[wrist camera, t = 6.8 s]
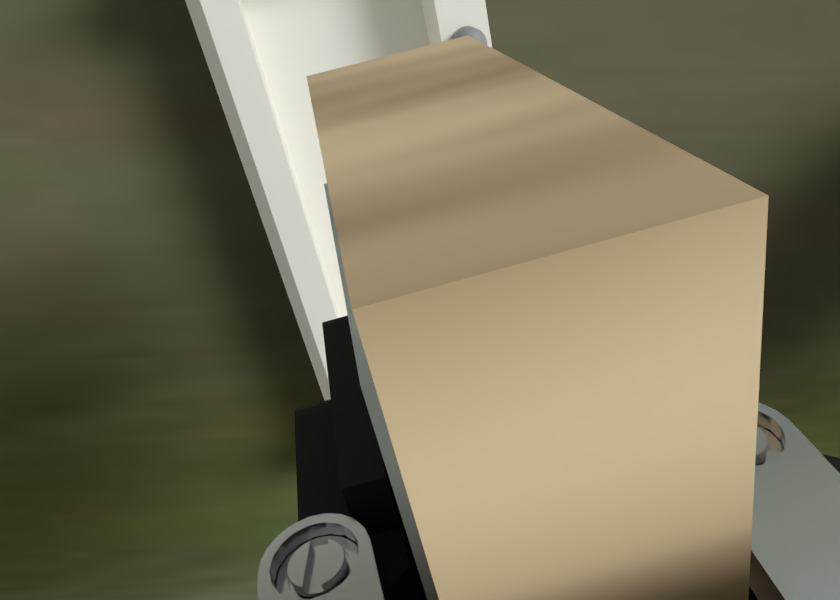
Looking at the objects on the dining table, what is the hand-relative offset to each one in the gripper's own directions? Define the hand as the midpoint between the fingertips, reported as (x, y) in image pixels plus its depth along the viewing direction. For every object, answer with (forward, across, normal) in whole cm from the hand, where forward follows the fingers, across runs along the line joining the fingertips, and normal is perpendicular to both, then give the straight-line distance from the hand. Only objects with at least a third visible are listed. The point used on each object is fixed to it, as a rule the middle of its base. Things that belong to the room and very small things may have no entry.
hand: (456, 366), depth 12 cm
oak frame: (+1, 0, 0) cm, 1 cm away
